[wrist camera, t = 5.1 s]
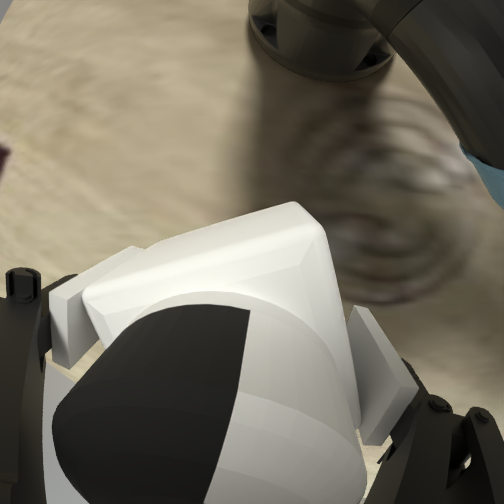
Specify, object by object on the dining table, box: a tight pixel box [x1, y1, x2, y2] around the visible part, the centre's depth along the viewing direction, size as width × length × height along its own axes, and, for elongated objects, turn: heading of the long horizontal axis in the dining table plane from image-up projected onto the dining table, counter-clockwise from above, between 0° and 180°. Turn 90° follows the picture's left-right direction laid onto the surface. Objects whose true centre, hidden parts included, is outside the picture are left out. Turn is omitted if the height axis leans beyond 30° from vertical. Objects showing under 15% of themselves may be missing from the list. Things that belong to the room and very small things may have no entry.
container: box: [52, 202, 367, 504], centre depth 10 cm, size 8×8×13 cm
